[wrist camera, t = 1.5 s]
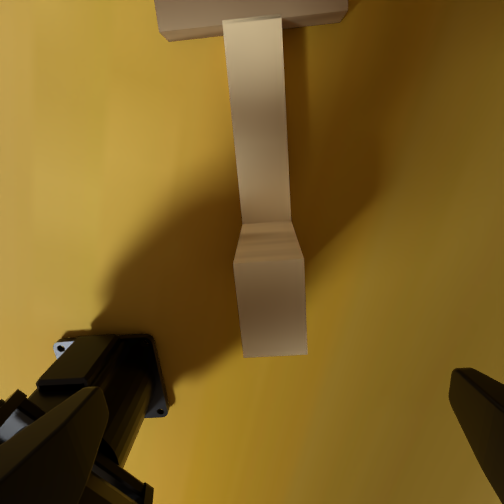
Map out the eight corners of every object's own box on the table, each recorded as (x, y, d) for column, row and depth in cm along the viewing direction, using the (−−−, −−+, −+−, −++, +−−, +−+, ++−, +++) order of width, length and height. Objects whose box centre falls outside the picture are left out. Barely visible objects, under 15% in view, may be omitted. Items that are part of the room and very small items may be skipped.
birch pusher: (339, 276, 19) (379, 350, 12) (205, 285, 19) (175, 361, 13) (340, -18, 14) (405, -152, 8) (163, 3, 15) (81, -105, 8)
